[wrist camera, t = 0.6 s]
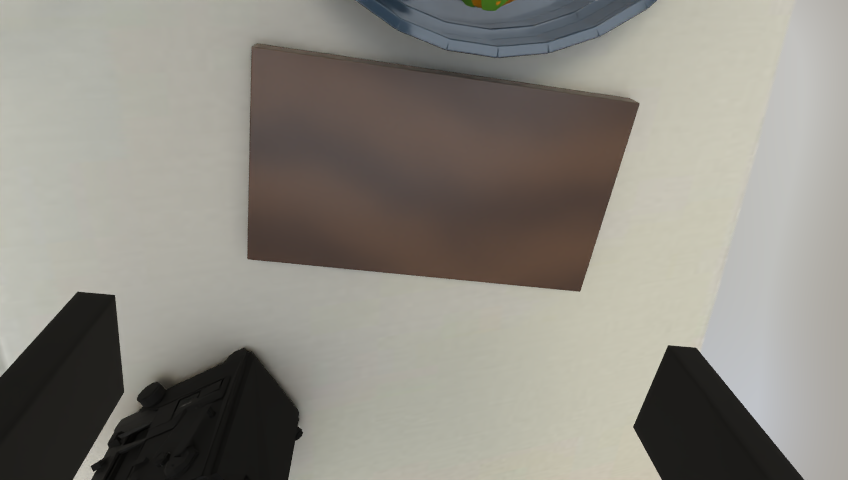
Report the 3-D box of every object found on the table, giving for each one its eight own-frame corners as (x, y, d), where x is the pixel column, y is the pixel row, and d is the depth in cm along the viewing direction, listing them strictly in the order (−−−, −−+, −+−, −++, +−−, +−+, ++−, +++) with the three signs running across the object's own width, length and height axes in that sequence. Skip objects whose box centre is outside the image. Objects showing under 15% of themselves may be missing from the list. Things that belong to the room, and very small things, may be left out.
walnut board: (256, 43, 34) (251, 46, 32) (630, 98, 37) (640, 103, 36) (251, 249, 40) (247, 259, 38) (573, 281, 43) (580, 291, 41)
